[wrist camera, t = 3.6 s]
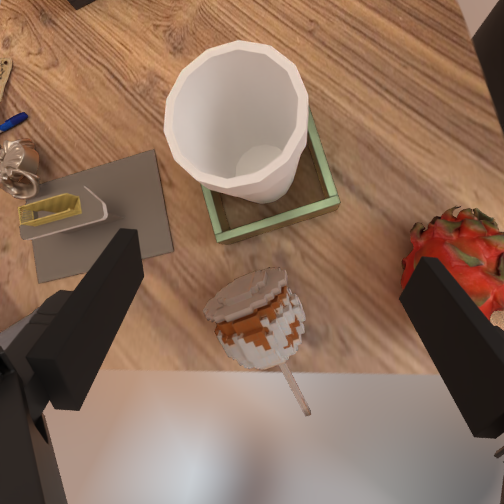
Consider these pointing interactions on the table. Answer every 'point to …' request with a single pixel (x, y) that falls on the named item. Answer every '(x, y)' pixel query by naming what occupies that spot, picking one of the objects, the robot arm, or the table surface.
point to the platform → (95, 215)
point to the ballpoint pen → (13, 121)
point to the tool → (4, 74)
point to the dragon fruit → (464, 254)
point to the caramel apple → (260, 322)
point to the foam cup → (239, 120)
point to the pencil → (14, 331)
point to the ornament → (19, 168)
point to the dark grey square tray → (79, 3)
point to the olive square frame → (283, 219)
